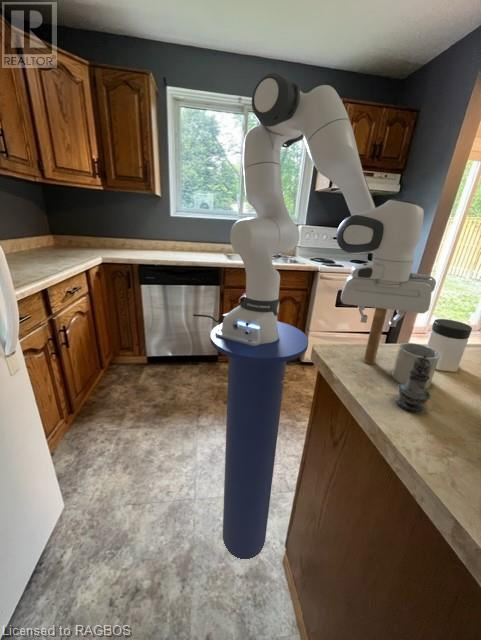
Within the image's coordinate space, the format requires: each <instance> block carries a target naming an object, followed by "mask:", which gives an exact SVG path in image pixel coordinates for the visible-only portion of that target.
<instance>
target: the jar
mask: <svg viewBox="0 0 481 640" xmlns="http://www.w3.org/2000/svg"><path fill="white" fill-rule="evenodd" d="M472 330H473V327H472V326H470V325H469V324H468V323H467V324H466V323H464V322H461V321H457V320H453V319H448V318H447V319H446V318H436V319H434V321H433V323H432V327H431V332H430V335H429V337H428V341H427V345H426V346H427V347H429V348H432V349H434V350H435V351H437V352H438V353H439V354H440V357H439V360H438V363H437V366H436V369H435V370H437V371H443V372H452V373H457V372H458V369H459V366H460V363H461V361H462V358H463V356H464V353H465V350H466V347H467V344H468V342H469V338H470V336H471V333H472Z"/></svg>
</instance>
